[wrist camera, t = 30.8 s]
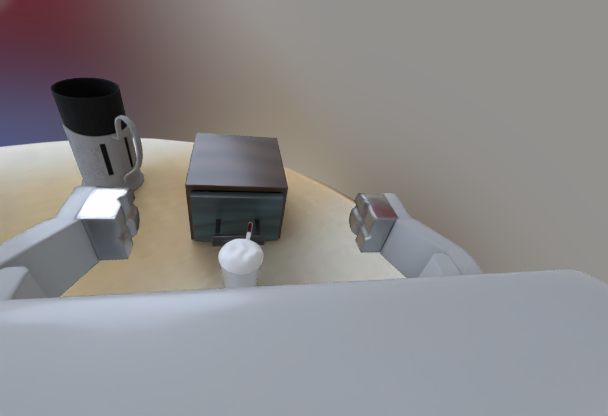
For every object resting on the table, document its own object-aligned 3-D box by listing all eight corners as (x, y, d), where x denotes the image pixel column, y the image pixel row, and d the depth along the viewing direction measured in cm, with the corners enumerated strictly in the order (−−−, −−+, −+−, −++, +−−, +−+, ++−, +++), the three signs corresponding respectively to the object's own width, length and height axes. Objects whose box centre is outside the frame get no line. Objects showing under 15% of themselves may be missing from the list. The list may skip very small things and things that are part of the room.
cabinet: (279, 238, 44) (288, 187, 38) (191, 239, 41) (185, 184, 35) (271, 184, 54) (276, 137, 48) (199, 182, 51) (196, 132, 45)
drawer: (280, 262, 40) (288, 220, 35) (191, 266, 37) (185, 220, 32) (269, 188, 52) (274, 149, 47) (202, 186, 49) (199, 145, 44)
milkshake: (264, 282, 38) (271, 227, 32) (252, 320, 34) (257, 265, 27) (230, 274, 38) (230, 217, 32) (213, 311, 34) (210, 254, 27)
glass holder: (123, 160, 53) (101, 72, 43) (177, 195, 48) (164, 105, 38) (70, 179, 47) (30, 82, 37) (124, 221, 42) (94, 123, 32)
